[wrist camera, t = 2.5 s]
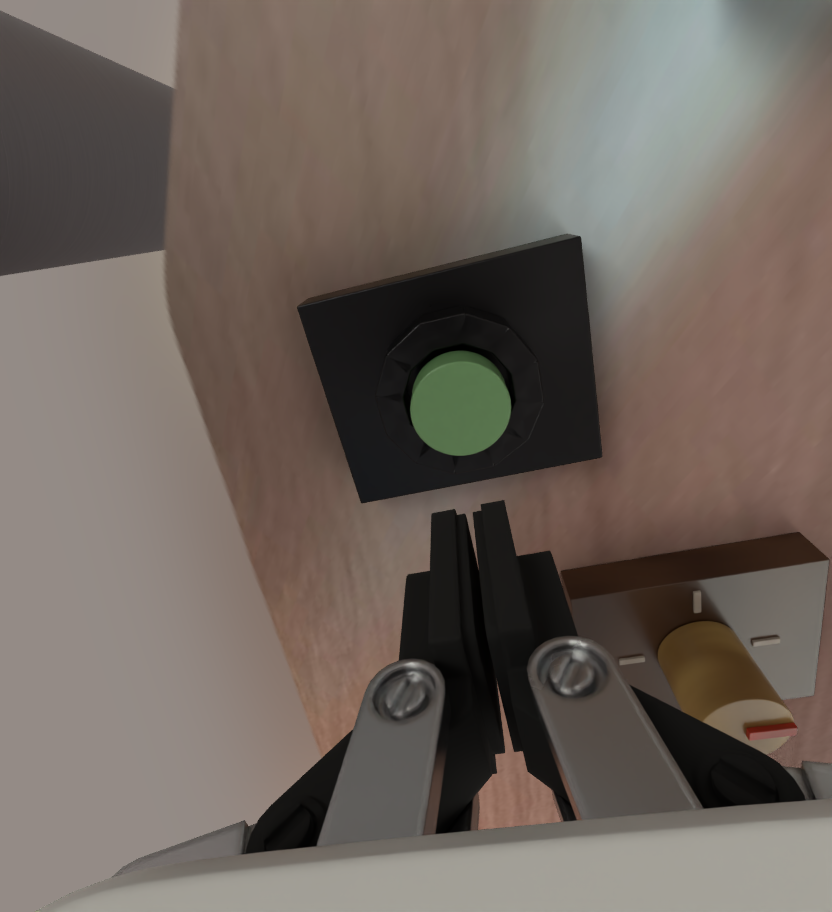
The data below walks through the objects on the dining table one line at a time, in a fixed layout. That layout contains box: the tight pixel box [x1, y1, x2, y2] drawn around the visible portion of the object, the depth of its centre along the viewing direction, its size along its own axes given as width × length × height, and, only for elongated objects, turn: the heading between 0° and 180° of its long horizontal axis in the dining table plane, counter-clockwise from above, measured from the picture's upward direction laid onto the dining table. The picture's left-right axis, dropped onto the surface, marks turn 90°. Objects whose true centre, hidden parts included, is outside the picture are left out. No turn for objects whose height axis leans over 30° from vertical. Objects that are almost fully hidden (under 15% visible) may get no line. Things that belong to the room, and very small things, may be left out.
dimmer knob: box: [657, 621, 797, 755], centre depth 27 cm, size 4×4×5 cm
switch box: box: [297, 234, 602, 503], centre depth 24 cm, size 12×10×4 cm
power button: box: [410, 351, 511, 456], centre depth 21 cm, size 4×4×2 cm
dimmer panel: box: [561, 532, 830, 711], centre depth 30 cm, size 13×10×3 cm
